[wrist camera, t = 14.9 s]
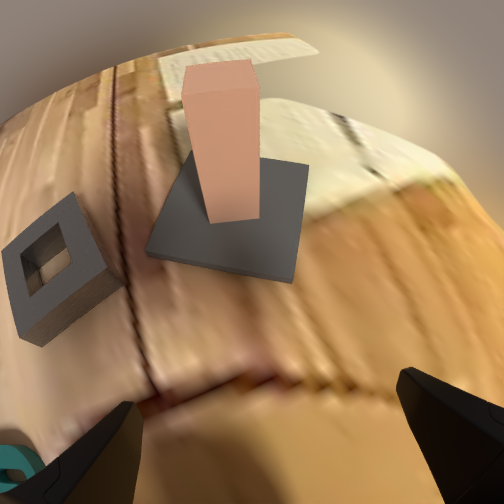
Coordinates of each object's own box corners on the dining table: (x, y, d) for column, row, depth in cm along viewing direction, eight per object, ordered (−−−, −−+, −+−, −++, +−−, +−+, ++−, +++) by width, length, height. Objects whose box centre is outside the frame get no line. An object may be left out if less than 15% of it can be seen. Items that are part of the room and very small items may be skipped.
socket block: (124, 284, 24) (107, 267, 21) (42, 347, 21) (19, 337, 18) (87, 210, 28) (73, 191, 25) (19, 265, 25) (1, 251, 22)
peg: (259, 218, 26) (259, 86, 14) (210, 223, 25) (181, 95, 14) (253, 182, 28) (250, 59, 16) (208, 187, 28) (185, 66, 16)
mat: (291, 283, 24) (293, 279, 23) (147, 255, 25) (144, 250, 24) (307, 171, 30) (309, 165, 29) (192, 156, 31) (191, 150, 30)
